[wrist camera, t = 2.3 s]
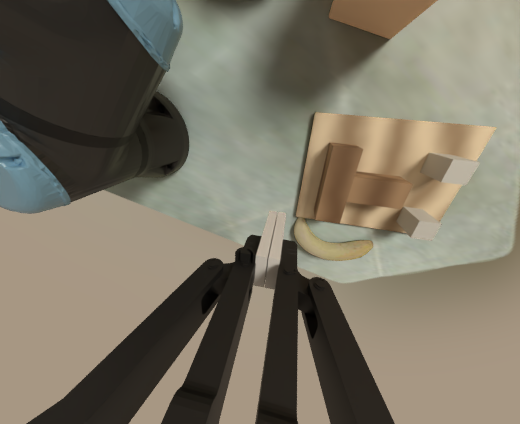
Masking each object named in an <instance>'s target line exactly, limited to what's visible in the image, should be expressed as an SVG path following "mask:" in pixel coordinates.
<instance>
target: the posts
mask: <svg viewBox="0 0 520 424" xmlns="http://www.w3.org/2000/svg"><path fill="white" fill-rule="evenodd" d="M479 164H480V162H478V161H474V160H470V159H466V158H462V157H458V156H455V155H449V154H439V153H429V154H428V156H427V159H426V161H425V163H424V165H423V167H422V169H421V171H420V173H423V174H425V175H427V176H429V177H431V178H433V179H435V180H437V181H439V182H443V183H452V184H460V185H467V183H468V181H469V180H470V178H471V177H472V175H473V173H474V172H475V170H476V168H477V167H478V165H479ZM396 222H397V223H398V224H399V225H400V226H401V227H402V229H403V230H404V231H405V232H406V233H407V234H408V235H409V236H410V237H411V238H417V239H424V240H430V241H432V240H433V238H434V236H435V235H436V233H437V232H438V230H439V228H440V227H441V225H442V224H441V223H440V222H439V221H437V220H436V219H435V218H433V217H432V216H431V215H429V214H428V213H427V212H426V211H424V210H423V209H418V208H410V207H403V208H402V211H401V213H400V215H399V217H398V219H397V221H396Z"/></svg>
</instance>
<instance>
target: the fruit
mask: <svg viewBox="0 0 520 424" xmlns="http://www.w3.org/2000/svg"><path fill="white" fill-rule="evenodd" d="M294 235H295V238H296V240H297V242H298V243H299V245H300V246H301V247H302V248H303V249H305V250H306V251H307V252H308V253H310V254H312V255H314V256H317V257H319V258H322V259H326V260H335V261H343V260H351V259H356V258H359V257H362V256H363V255H365V254H366V253H368V252H369V251H370V250H371V249H372V248H373V243H372V241H370V240H358V241H351V242H345V243H329V242H325V241H322V240H320V239H319V238H317V237H316V236H315V235H314V234H313V233H312V232H311V230H310V229H309V227H308V225H307V223H306V221H305V218H303V217H298V219H297V221H296V223H295V226H294Z"/></svg>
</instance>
